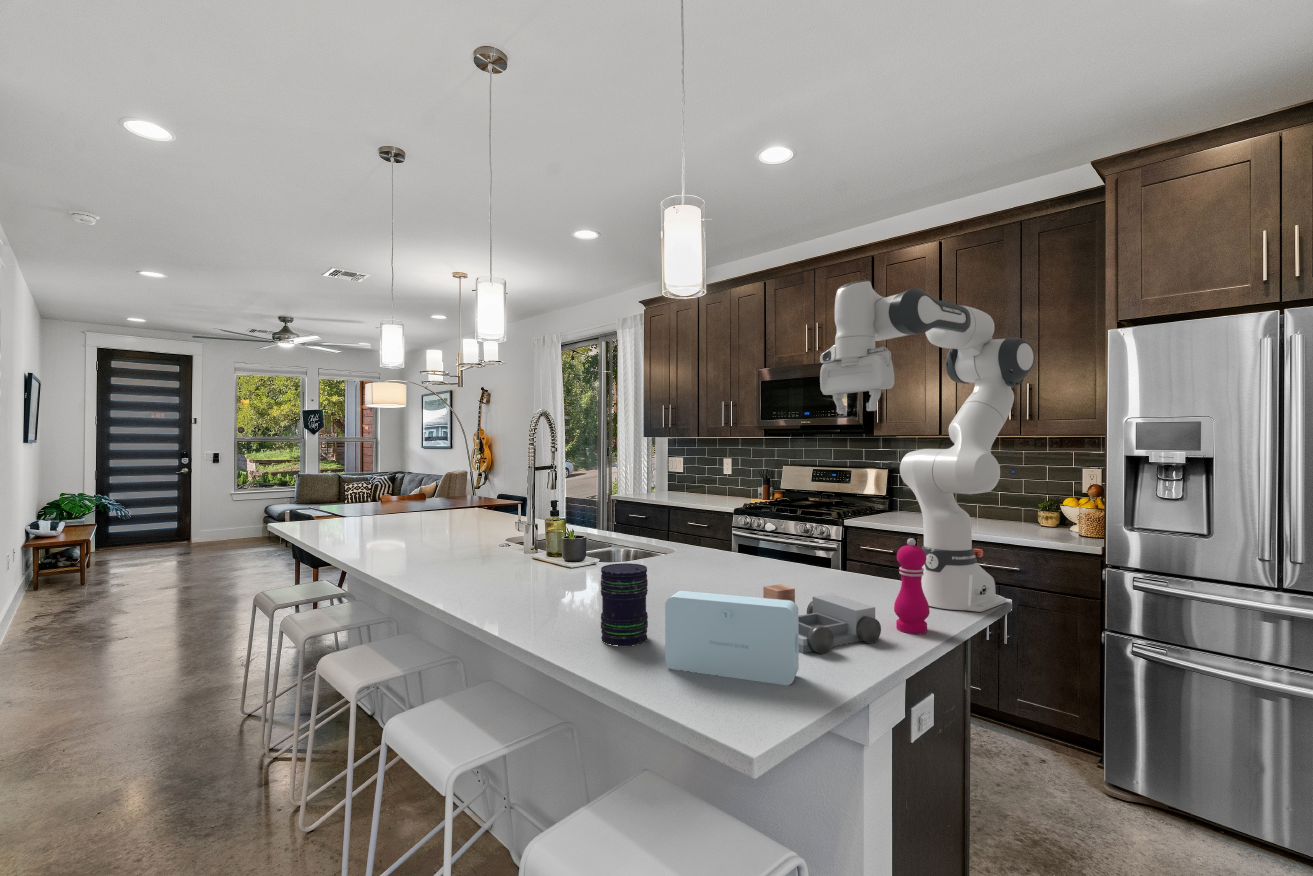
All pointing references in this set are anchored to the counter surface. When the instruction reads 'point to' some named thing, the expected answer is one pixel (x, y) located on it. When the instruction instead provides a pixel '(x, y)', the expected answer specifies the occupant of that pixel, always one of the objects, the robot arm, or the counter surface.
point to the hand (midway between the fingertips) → (856, 411)
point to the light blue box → (732, 636)
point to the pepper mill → (911, 590)
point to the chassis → (836, 623)
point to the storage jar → (624, 604)
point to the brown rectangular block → (779, 592)
